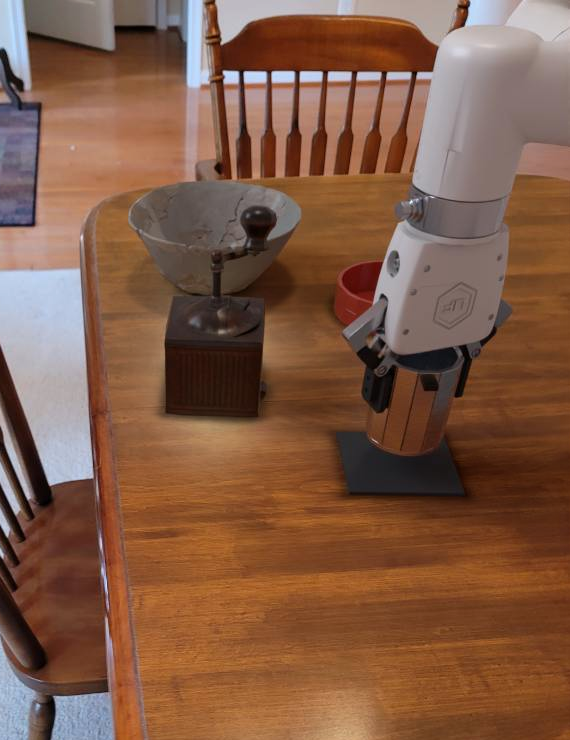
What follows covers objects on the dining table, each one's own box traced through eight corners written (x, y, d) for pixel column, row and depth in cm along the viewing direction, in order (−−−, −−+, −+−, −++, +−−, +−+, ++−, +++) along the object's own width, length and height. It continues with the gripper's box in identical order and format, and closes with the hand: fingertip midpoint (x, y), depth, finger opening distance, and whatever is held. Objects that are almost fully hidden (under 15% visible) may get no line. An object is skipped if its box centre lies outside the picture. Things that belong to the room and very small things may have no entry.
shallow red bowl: (425, 292, 112) (432, 260, 109) (446, 341, 102) (454, 307, 99) (328, 292, 112) (332, 259, 109) (340, 340, 103) (345, 306, 100)
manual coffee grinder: (265, 422, 90) (279, 261, 78) (163, 417, 91) (161, 257, 78) (266, 349, 101) (279, 199, 89) (175, 345, 102) (175, 196, 90)
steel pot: (429, 406, 85) (450, 325, 79) (451, 465, 77) (475, 382, 71) (358, 405, 85) (373, 325, 79) (373, 464, 78) (391, 380, 71)
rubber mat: (441, 438, 87) (442, 432, 87) (463, 499, 80) (465, 493, 79) (335, 437, 88) (336, 431, 87) (348, 498, 80) (349, 491, 80)
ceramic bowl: (298, 253, 121) (306, 182, 115) (287, 329, 105) (295, 252, 98) (149, 243, 124) (147, 174, 118) (115, 316, 108) (111, 240, 101)
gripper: (381, 241, 62) (347, 437, 74) (578, 212, 66) (514, 402, 78) (335, 205, 67) (310, 393, 79) (519, 180, 71) (469, 363, 83)
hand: (411, 396), depth 78 cm, fingers closed on steel pot, 7 cm apart
